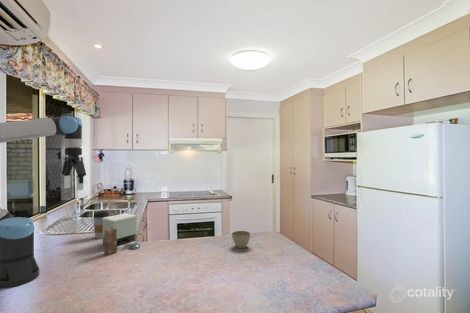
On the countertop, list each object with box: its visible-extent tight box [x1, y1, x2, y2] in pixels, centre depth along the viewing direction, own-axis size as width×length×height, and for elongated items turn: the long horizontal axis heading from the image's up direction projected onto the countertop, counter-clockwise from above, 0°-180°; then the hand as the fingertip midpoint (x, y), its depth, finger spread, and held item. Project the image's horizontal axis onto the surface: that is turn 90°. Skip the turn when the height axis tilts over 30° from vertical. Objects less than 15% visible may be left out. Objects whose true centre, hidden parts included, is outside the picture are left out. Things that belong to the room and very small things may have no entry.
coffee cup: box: [93, 210, 110, 240], centre depth 157 cm, size 8×8×15 cm
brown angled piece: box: [103, 228, 138, 256], centre depth 137 cm, size 17×4×12 cm, turn 147°
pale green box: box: [102, 212, 138, 246], centre depth 146 cm, size 14×11×15 cm
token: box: [129, 243, 141, 251], centre depth 139 cm, size 5×5×2 cm
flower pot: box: [231, 230, 251, 249], centre depth 141 cm, size 10×10×7 cm
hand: (73, 189), depth 135 cm, fingers open, 13 cm apart
